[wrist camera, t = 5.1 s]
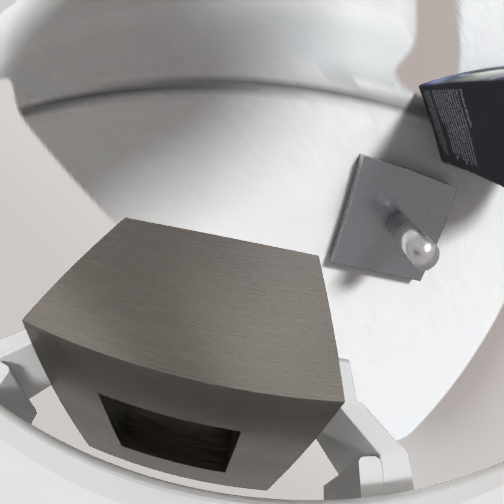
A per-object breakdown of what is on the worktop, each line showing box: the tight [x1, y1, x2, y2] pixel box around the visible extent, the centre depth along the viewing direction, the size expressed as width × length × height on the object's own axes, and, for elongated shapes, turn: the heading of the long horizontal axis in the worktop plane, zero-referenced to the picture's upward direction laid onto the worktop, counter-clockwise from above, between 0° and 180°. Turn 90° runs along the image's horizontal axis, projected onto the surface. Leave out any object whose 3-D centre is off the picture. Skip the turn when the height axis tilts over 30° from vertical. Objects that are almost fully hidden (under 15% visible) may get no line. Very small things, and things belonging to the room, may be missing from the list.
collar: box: [22, 218, 345, 490], centre depth 8 cm, size 6×6×5 cm
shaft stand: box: [330, 154, 456, 281], centre depth 18 cm, size 8×8×6 cm
